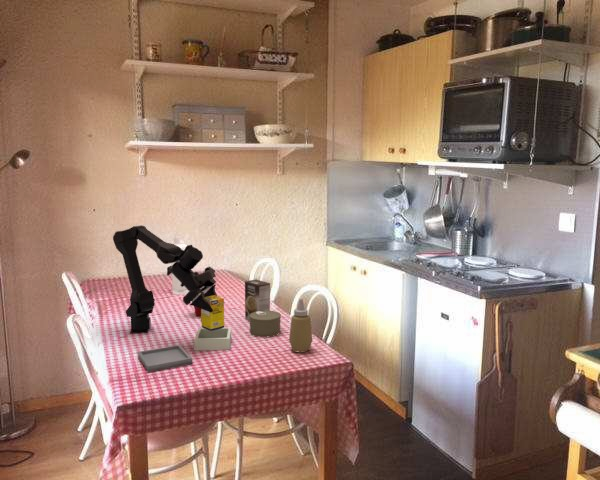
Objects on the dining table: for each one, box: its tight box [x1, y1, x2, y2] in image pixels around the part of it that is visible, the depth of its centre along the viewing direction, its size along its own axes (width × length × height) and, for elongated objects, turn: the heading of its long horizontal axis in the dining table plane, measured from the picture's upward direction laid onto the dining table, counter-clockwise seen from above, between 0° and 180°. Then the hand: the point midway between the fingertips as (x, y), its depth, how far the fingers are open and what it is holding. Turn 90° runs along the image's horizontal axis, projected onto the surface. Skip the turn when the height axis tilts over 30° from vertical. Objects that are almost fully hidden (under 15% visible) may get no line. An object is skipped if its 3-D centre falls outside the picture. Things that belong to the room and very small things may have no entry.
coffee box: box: [244, 279, 271, 322], centre depth 212 cm, size 9×6×16 cm
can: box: [249, 310, 282, 338], centre depth 198 cm, size 12×12×7 cm
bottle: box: [170, 235, 189, 296], centre depth 254 cm, size 8×8×28 cm
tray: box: [137, 344, 193, 373], centre depth 169 cm, size 14×14×2 cm
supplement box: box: [200, 295, 225, 331], centre depth 183 cm, size 6×6×11 cm
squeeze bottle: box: [288, 298, 313, 353], centre depth 178 cm, size 8×8×18 cm
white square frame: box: [194, 327, 232, 351], centre depth 185 cm, size 12×12×4 cm
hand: (216, 308), depth 183 cm, fingers closed on supplement box, 8 cm apart
